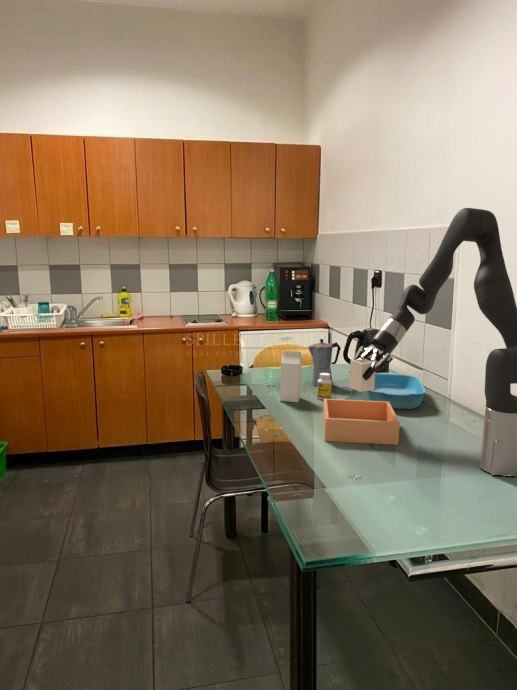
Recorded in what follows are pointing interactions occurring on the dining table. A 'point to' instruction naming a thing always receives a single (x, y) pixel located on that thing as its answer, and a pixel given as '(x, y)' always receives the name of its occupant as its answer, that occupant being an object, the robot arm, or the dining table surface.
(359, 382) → the small crate
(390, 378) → the casserole dish
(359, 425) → the large crate
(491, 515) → the dining table surface
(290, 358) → the milk carton
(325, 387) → the supplement bottle
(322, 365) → the moka pot
